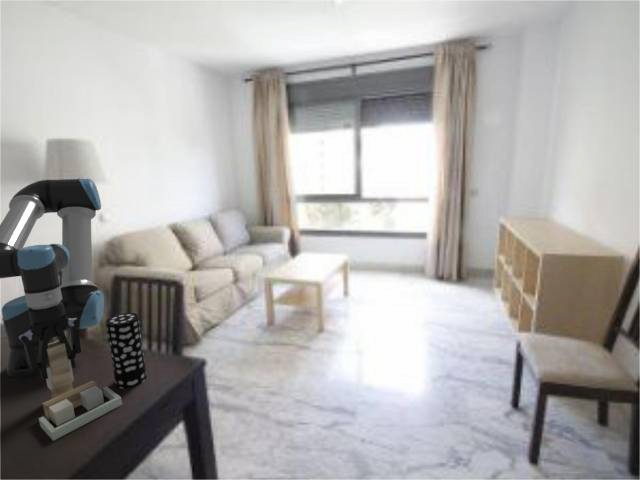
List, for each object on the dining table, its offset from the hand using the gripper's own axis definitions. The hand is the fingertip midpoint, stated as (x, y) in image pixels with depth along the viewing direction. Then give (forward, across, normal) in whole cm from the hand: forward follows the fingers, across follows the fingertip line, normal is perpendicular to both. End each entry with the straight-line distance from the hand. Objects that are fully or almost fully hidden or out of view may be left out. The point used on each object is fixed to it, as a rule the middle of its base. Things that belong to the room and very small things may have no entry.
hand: (61, 383), depth 102 cm
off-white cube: (+5, -3, -10) cm, 11 cm away
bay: (+5, 0, -12) cm, 13 cm away
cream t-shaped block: (+4, 0, -3) cm, 5 cm away
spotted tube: (+5, +15, -7) cm, 18 cm away
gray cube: (+5, +4, -10) cm, 11 cm away
